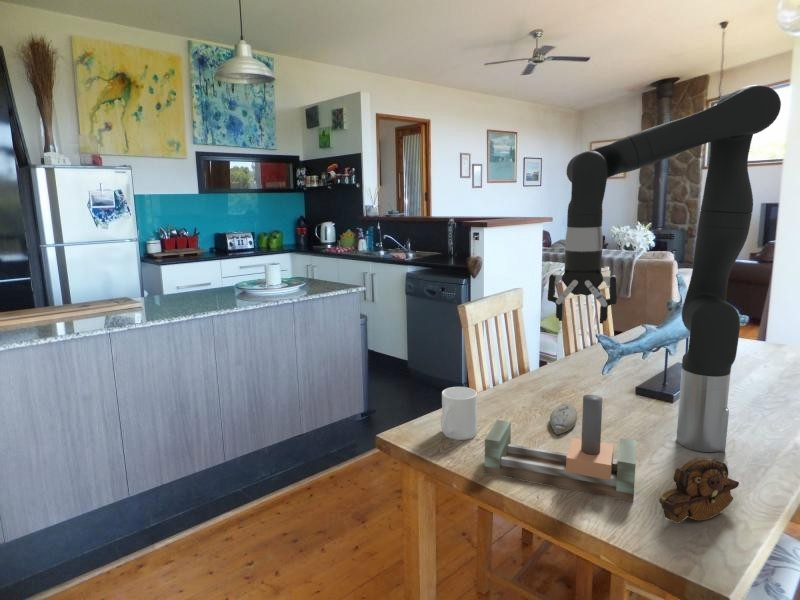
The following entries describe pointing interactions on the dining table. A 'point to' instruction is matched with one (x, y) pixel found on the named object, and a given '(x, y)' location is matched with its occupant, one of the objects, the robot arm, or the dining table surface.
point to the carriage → (590, 444)
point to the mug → (459, 413)
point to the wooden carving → (698, 491)
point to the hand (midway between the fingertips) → (580, 321)
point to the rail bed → (556, 465)
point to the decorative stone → (563, 418)
